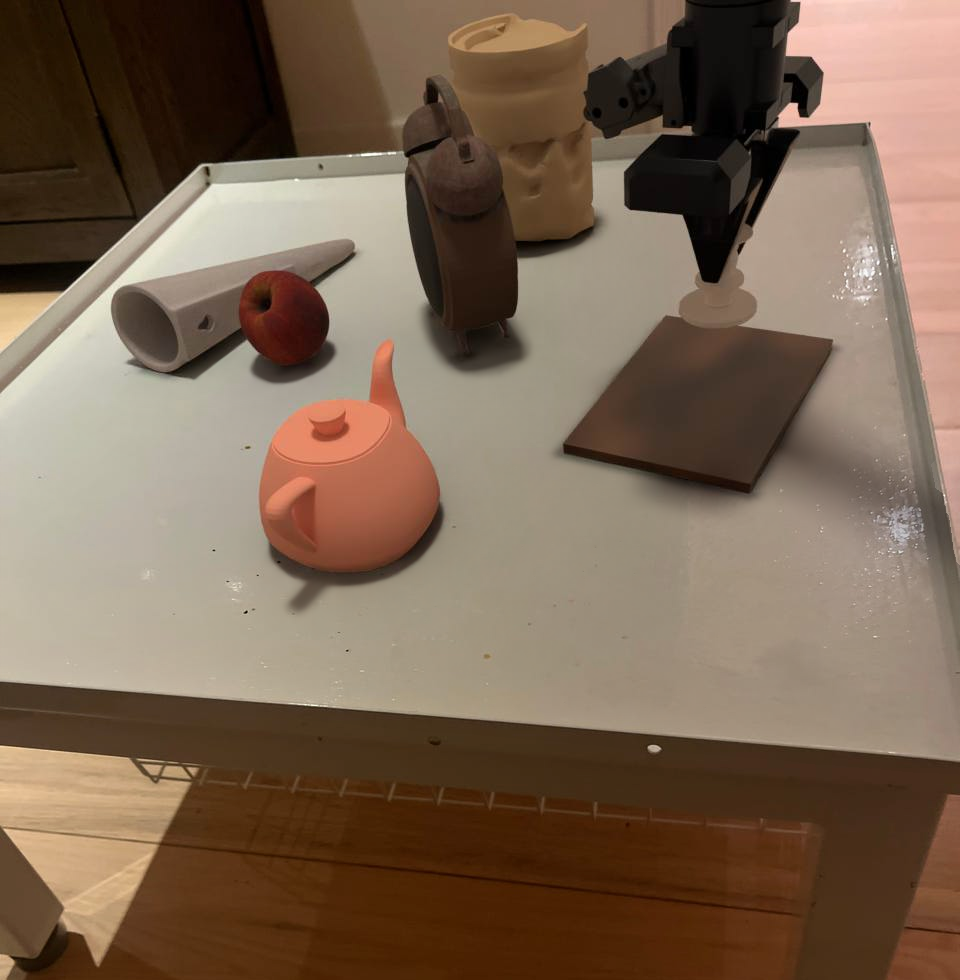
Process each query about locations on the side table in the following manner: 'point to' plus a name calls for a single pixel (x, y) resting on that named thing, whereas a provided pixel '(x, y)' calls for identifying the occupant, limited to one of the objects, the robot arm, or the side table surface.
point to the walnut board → (702, 402)
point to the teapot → (348, 481)
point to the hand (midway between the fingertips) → (721, 268)
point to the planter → (203, 303)
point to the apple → (283, 317)
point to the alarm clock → (458, 217)
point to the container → (530, 117)
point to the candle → (721, 296)
